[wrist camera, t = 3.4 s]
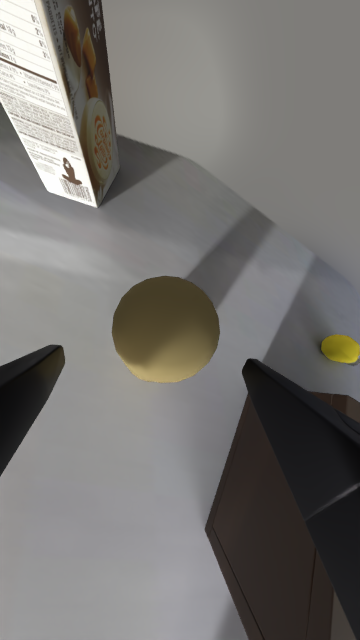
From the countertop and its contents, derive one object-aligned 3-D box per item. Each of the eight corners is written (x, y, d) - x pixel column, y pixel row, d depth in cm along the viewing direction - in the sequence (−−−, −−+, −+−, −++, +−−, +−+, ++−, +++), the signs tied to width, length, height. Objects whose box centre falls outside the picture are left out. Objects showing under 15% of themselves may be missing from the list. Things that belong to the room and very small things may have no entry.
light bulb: (311, 335, 22) (345, 325, 19) (332, 354, 24) (366, 347, 21) (319, 357, 20) (358, 349, 17) (342, 376, 22) (380, 371, 19)
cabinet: (349, 444, 18) (527, 505, 10) (339, 606, 14) (667, 992, 5) (250, 384, 18) (348, 395, 9) (204, 529, 13) (316, 813, 5)
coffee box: (76, 151, 23) (-48, -264, 8) (121, 168, 24) (86, -174, 9) (45, 192, 20) (-258, -376, 5) (99, 210, 21) (-12, -214, 6)
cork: (131, 318, 17) (116, 239, 7) (185, 328, 18) (241, 272, 8) (116, 377, 15) (65, 387, 5) (178, 385, 16) (241, 407, 6)
